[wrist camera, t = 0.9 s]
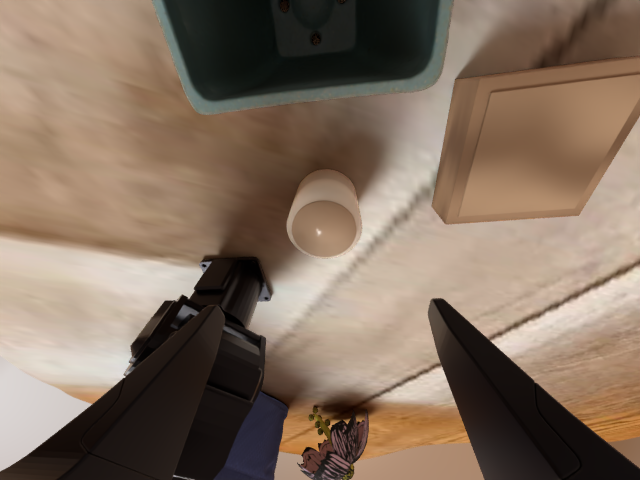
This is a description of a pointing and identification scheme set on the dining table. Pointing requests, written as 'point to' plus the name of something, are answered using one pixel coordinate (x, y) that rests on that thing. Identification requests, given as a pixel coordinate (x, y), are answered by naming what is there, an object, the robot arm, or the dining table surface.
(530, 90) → the stand
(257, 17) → the flower pot
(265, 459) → the lunch bag
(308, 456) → the decorative flower
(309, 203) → the jar
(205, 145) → the dining table surface
